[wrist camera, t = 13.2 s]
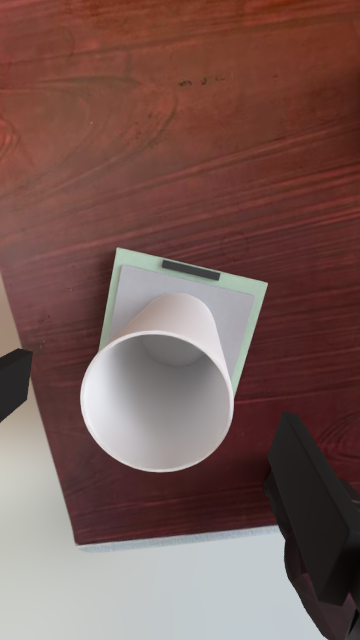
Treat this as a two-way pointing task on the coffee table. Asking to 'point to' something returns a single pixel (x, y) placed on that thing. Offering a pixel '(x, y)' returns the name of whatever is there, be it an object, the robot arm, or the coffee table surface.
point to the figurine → (306, 574)
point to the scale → (205, 284)
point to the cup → (160, 388)
